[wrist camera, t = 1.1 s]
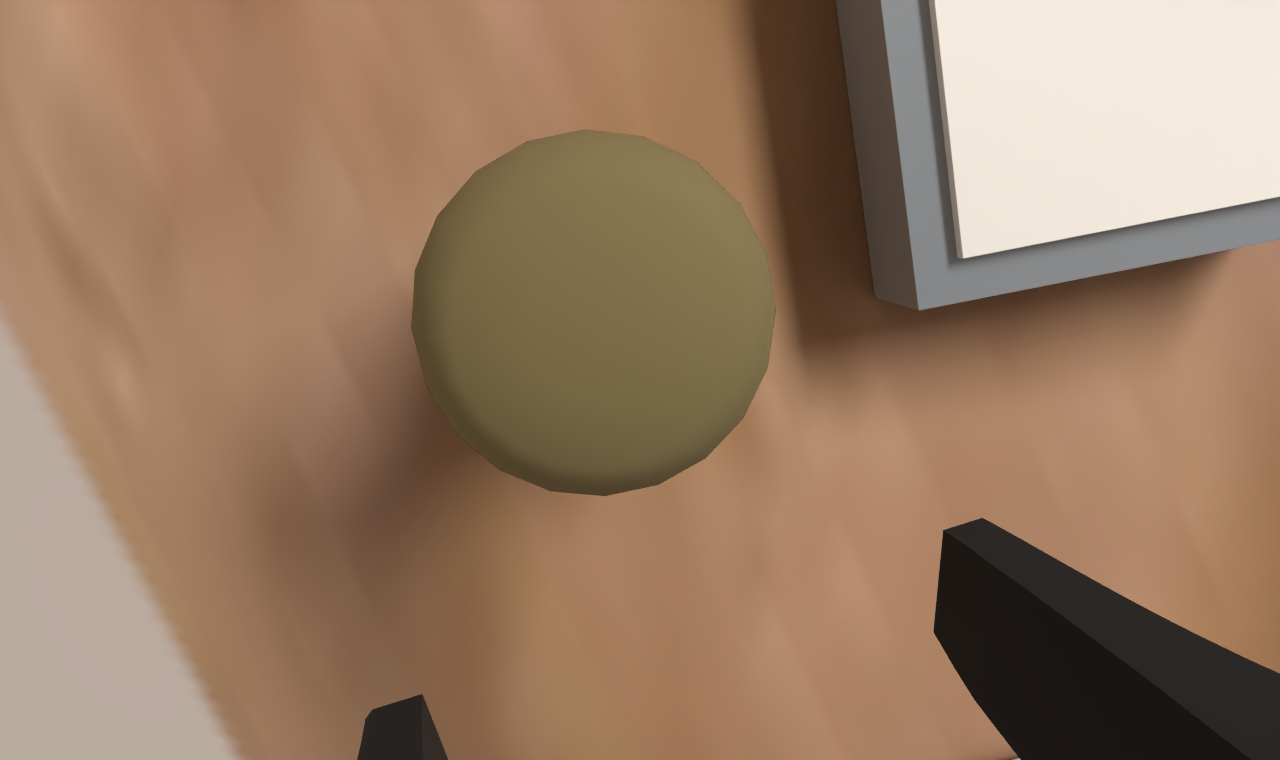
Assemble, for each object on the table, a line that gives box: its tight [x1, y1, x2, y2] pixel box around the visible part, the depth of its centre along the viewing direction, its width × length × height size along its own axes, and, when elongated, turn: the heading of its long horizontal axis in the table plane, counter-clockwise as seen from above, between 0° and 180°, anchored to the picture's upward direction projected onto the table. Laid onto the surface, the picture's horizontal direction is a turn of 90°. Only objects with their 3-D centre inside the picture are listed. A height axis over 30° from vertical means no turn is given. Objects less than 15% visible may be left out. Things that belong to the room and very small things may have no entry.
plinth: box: [836, 0, 1280, 310], centre depth 19 cm, size 10×10×3 cm
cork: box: [411, 129, 776, 496], centre depth 16 cm, size 6×6×11 cm
